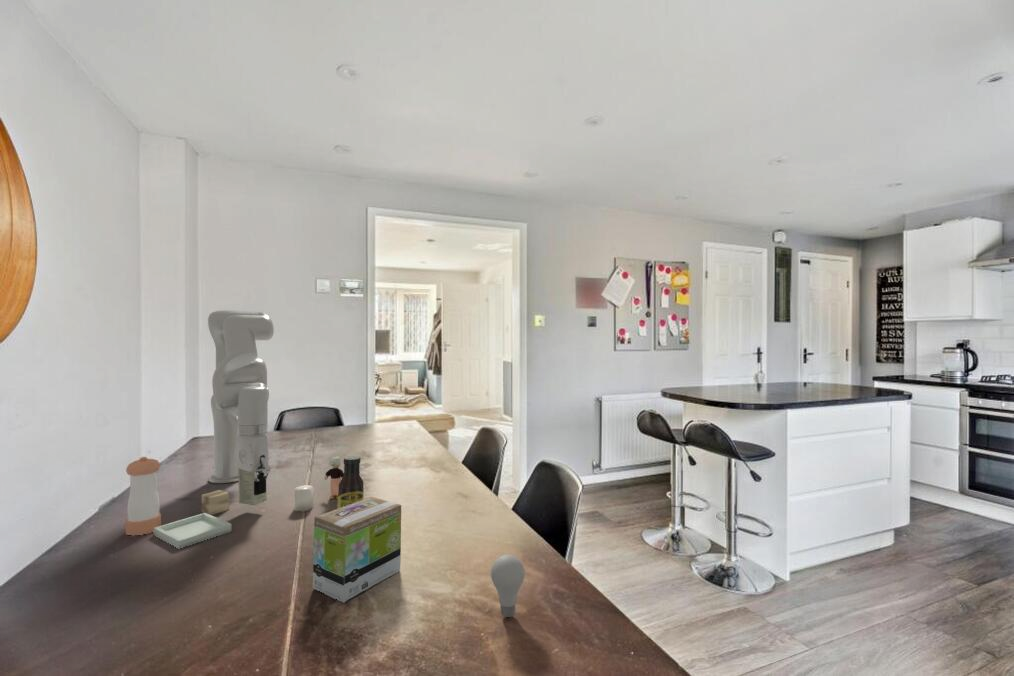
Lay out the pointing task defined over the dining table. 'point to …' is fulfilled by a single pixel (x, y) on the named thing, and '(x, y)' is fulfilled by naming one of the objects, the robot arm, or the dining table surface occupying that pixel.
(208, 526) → the tray
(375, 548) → the tea box
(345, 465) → the sauce bottle
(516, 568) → the lightbulb
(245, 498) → the skincare box
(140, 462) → the salt shaker
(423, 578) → the dining table surface
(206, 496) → the beech block
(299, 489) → the cream cylinder
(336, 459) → the grandmother figurine
